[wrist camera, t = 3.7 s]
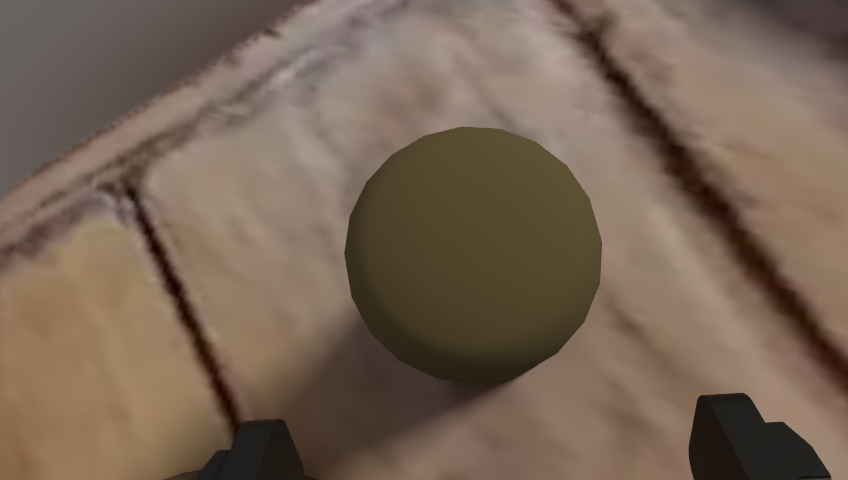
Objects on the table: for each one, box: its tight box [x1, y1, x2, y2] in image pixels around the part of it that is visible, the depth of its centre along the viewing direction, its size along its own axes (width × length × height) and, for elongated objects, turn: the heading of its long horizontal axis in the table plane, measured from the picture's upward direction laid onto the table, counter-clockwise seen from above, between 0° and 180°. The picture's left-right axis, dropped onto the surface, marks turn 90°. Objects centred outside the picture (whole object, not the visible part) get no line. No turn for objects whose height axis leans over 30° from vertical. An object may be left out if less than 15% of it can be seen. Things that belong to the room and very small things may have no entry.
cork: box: [344, 127, 602, 384], centre depth 15 cm, size 6×6×11 cm
